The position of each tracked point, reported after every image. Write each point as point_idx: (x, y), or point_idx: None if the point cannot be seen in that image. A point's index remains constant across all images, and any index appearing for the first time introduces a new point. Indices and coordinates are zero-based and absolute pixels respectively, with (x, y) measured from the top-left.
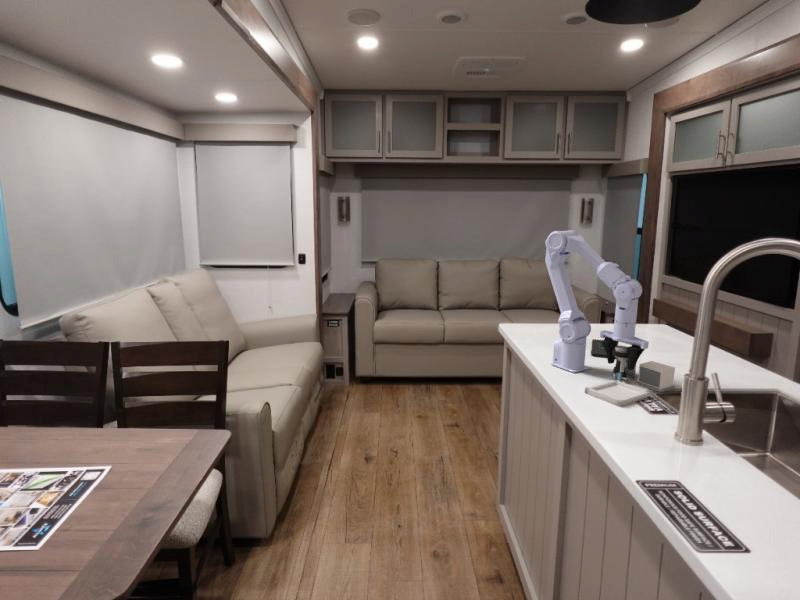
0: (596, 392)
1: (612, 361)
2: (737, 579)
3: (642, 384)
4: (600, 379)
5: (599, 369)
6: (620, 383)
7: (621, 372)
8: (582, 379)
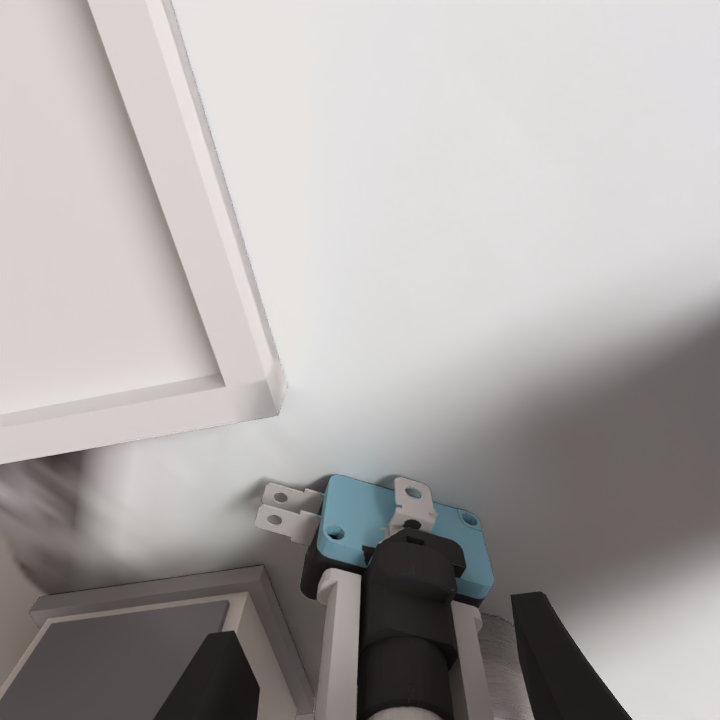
0: None
1: (522, 658)
2: None
3: (191, 584)
4: (469, 361)
5: (696, 545)
6: (165, 394)
7: (348, 574)
8: (567, 146)
